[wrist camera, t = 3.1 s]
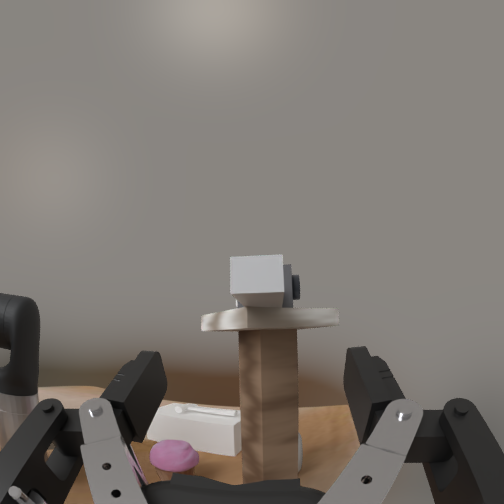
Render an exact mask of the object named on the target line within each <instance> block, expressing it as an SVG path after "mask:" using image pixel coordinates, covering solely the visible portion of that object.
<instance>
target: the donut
mask: <svg viewBox="0 0 504 504" xmlns="http://www.w3.org/2000/svg"><path fill="white" fill-rule="evenodd" d="M302 455H303V452H302V439H301V435H300V433H299V432H298V472H299V471H300V470H301V467H302Z"/></svg>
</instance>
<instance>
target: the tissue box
mask: <svg viewBox="0 0 504 504" xmlns="http://www.w3.org/2000/svg"><path fill="white" fill-rule="evenodd" d="M197 405H198V404H190V403H187V404H178V403H172V404H169V405H166V406H162V407H159V408H158V410H157V412H156V414H155V416H154V418H153V421H152V423H151V425H150V427H149V429H148V431H147V438H148V439H150V440H154V441H157V442H160V441H162V440H183V441H186V442H188V443H189V444H190V445H191V446H192V448H193V449H194V450H197V451H202V452H208V453H214V454H220V455H227V456H236V455H237V454H238V453H239V452H240V451H241V450H242V446H241V415H240V410H228V409H217V408H208V407H200V406H197Z"/></svg>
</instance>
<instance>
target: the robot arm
mask: <svg viewBox="0 0 504 504" xmlns="http://www.w3.org/2000/svg"><path fill="white" fill-rule="evenodd" d="M39 340H40V316H39V310H38V307H37V305H36V303H35V302H34V300H32V299H31V298H28V297H23V296H16V295H9V294H3V293H0V348H4V349H9V350H11V356H10V362H9V364H7V365H6V366H4V367H1V368H0V447H1V452H0V504H63V503H64V501H65V499H66V497H67V495H68V493H69V491H70V489H71V487H72V485H73V483H74V481H75V479H76V477H77V475H78V473H79V471H80V469H81V467H82V465H83V463H84V467H85V471H86V475H87V479H88V483H89V487H90V490H91V494H92V497H93V501H94V504H382V502H383V501H384V499H385V497H386V495H387V494H388V492H389V490H390V488H391V486H392V484H393V482H394V481H395V479H396V477H397V475H398V473H399V471H400V469H401V467H402V465H403V463H423V467H424V470H425V473H426V476H427V479H428V482H429V485H430V488H431V492H432V495H433V498H434V502H435V504H504V454H503V452H502V450H501V448H500V446H499V444H498V443H497V441H496V439H495V437H494V436H493V434H492V433H491V431H490V429H489V428H488V426H487V424H486V422H485V421H484V419H483V417H482V416H481V414H480V413H479V411H478V410H477V408H476V406H475V405H474V404H473V403H472V402H471V401H469V400H467V399H462V398H456V399H452V400H450V401H448V402H447V403H446V404H445V406H444V409H443V410H423V409H422V407H421V406H420V405H419V404H418V403H417V402H415V401H413V400H409V399H406V398H405V397H404V395H403V393H402V391H401V389H400V387H399V386H398V384H397V382H396V380H395V378H393V374H392V373H391V371H390V369H389V368H388V366H387V364H386V362H385V361H383V360H382V359H381V358H379V357H378V356H374V357H371V356H370V354H369V352H368V350H367V348H366V347H365V346H362V347H352V348H348V349H347V354H346V363H345V370H344V390H345V393H346V397H347V400H348V403H349V407H350V410H351V414H352V417H353V421H354V424H355V428H356V431H357V435H358V438H359V442H360V445H361V446H360V447H359V448H358V450H357V451H356V453H355V454H354V456H353V457H352V459H351V460H350V462H349V463H348V465H347V466H346V467H345V469H344V470H343V471H342V473H341V474H340V476H339V477H338V478H337V480H336V481H335V482H334V484H333V485H332V486H331V487H330V489H329V490H328V491H327V492H326V493H324V492H321V491H319V490H316V489H312V488H308V487H301V486H300V479H281V480H264V481H259V482H253V483H247V484H241V485H229V484H226V483H222V482H219V481H215V480H212V479H209V478H205V477H202V476H193V475H186V474H179V473H173V474H172V477H171V480H166V481H159V482H155V483H151V484H148V482H147V480H146V478H145V476H144V474H143V472H142V469H141V467H140V465H139V463H138V460H137V458H136V456H135V453H134V451H133V449H132V447H131V445H130V444H131V442H132V441H134V442H139V443H142V442H143V440H144V438H145V435H146V433H147V431H148V429H149V427H150V425H151V423H152V421H153V418H154V416H155V414H156V412H157V410H158V408H159V406H160V404H161V402H162V399H163V397H164V395H165V393H166V390H167V378H166V375H165V371H164V367H163V364H162V359H161V356H160V353H159V352H153V351H141V352H140V353H139V355H138V356H137V358H136V359H135V360H134V361H133V360H131V361H130V362H128V363H127V364H125V365H124V366H123V367H122V368H121V369H120V371H119V372H118V375H116V376H115V378H114V380H112V381H111V383H110V384H109V386H108V387H107V388H106V390H105V391H104V392H103V394H102V395H101V396H100V398H93V399H90V400H87V401H86V402H84V403H83V404H82V405H81V407H80V409H64V407H63V405H62V403H61V402H60V401H59V400H57V399H52V398H51V399H45V400H43V401H41V402H39V398H38V375H39ZM51 443H53V444H54V446H55V448H54V450H53V452H52V453H51V455H50V456H49V458H48V456H47V449H48V447H49V446H50V444H51Z"/></svg>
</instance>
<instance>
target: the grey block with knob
mask: <svg viewBox="0 0 504 504" xmlns="http://www.w3.org/2000/svg"><path fill="white" fill-rule="evenodd" d="M230 294H231V295H232V296H233V297H234V298H236V306H237V307H238V308H242V307H247V306H248V307H278V308H293V300H299V299H300V282H299V275H292V274H291V264H290V265H283V256H282V255H263V256H241V257H230Z"/></svg>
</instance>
